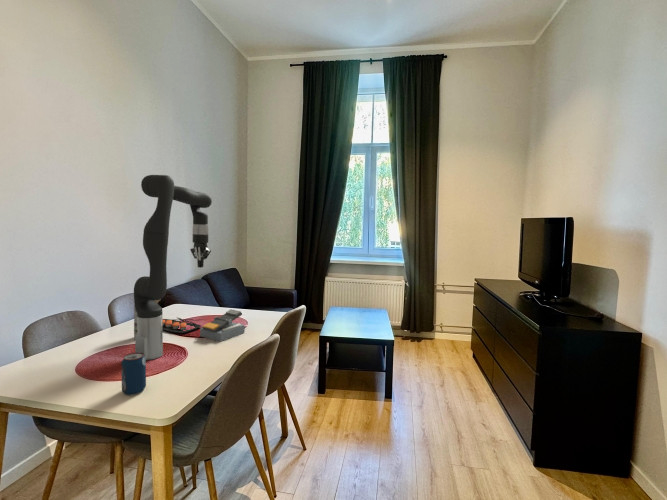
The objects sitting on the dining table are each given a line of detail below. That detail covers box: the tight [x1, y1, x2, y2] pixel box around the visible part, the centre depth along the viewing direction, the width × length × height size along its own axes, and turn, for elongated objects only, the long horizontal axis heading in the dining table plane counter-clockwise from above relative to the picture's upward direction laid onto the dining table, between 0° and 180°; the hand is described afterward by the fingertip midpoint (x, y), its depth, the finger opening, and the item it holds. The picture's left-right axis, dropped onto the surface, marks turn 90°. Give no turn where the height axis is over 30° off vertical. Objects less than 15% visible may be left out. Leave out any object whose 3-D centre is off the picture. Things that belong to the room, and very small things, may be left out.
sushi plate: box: [162, 317, 202, 334], centre depth 188 cm, size 29×30×4 cm
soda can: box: [120, 352, 147, 396], centre depth 113 cm, size 7×7×12 cm
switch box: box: [199, 316, 246, 342], centre depth 172 cm, size 16×14×8 cm
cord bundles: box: [222, 323, 241, 332], centre depth 172 cm, size 12×13×1 cm
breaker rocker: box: [201, 309, 243, 332], centre depth 172 cm, size 19×8×2 cm, turn 152°
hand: (200, 267), depth 175 cm, fingers closed
